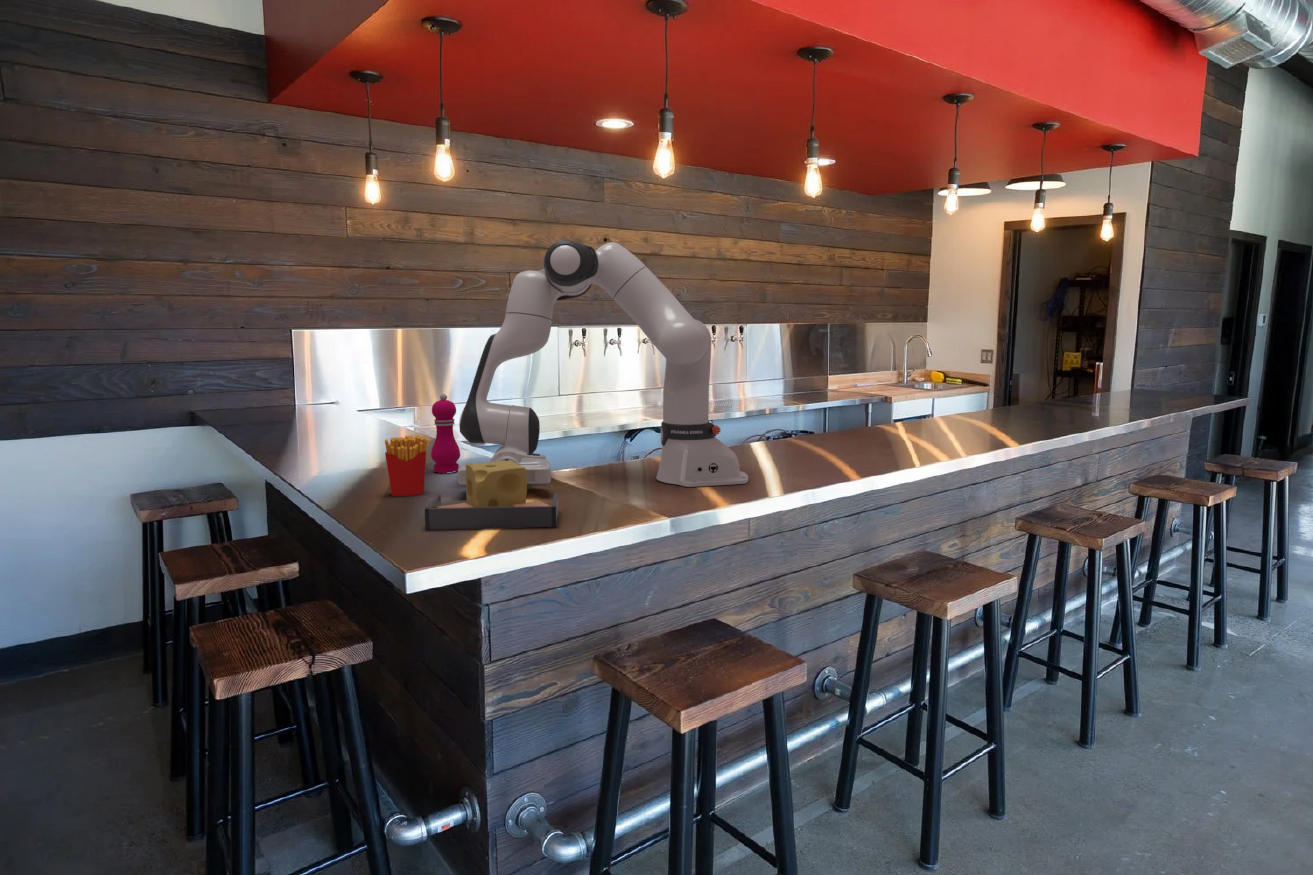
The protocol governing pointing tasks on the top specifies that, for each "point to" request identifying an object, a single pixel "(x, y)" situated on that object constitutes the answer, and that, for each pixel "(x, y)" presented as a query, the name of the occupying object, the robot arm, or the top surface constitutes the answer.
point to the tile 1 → (456, 506)
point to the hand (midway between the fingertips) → (501, 481)
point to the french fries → (406, 465)
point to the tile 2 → (530, 504)
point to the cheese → (495, 484)
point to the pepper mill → (444, 437)
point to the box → (489, 516)
